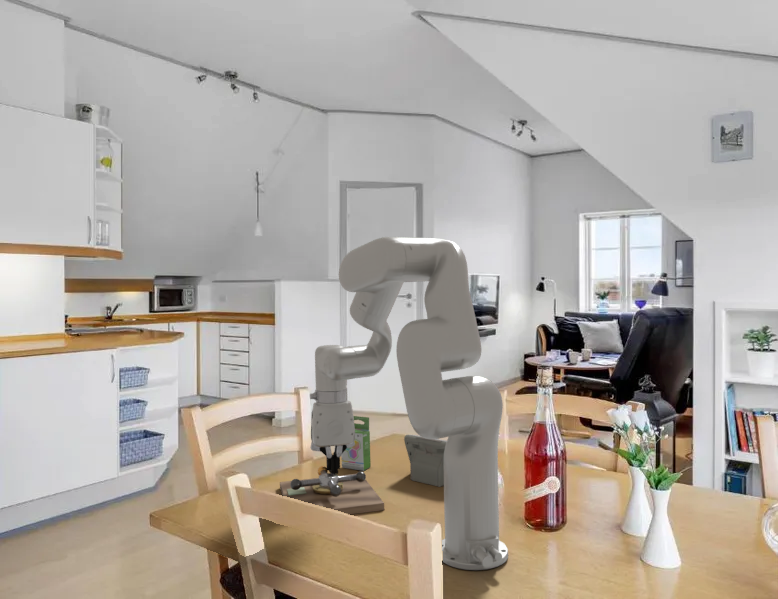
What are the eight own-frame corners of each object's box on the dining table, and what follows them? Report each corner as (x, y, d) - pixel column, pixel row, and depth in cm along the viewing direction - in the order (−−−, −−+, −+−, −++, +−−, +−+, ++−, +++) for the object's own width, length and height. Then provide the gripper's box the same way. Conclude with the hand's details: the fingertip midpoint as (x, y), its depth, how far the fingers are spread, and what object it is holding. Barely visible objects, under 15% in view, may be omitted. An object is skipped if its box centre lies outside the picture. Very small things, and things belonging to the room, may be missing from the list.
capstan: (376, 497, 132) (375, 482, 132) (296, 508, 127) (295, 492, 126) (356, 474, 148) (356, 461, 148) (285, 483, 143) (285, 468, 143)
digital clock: (469, 483, 146) (469, 439, 146) (442, 492, 140) (441, 446, 140) (425, 468, 159) (424, 428, 158) (398, 476, 153) (397, 434, 153)
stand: (384, 509, 130) (384, 502, 130) (290, 521, 124) (290, 513, 124) (360, 479, 151) (360, 472, 151) (280, 488, 145) (279, 481, 145)
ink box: (340, 468, 161) (339, 417, 160) (349, 464, 164) (347, 415, 164) (363, 471, 157) (362, 420, 157) (371, 467, 161) (369, 417, 160)
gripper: (303, 402, 139) (305, 481, 139) (365, 397, 144) (367, 473, 144) (298, 396, 146) (299, 472, 147) (357, 392, 151) (359, 465, 151)
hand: (333, 472), depth 145 cm, fingers closed
